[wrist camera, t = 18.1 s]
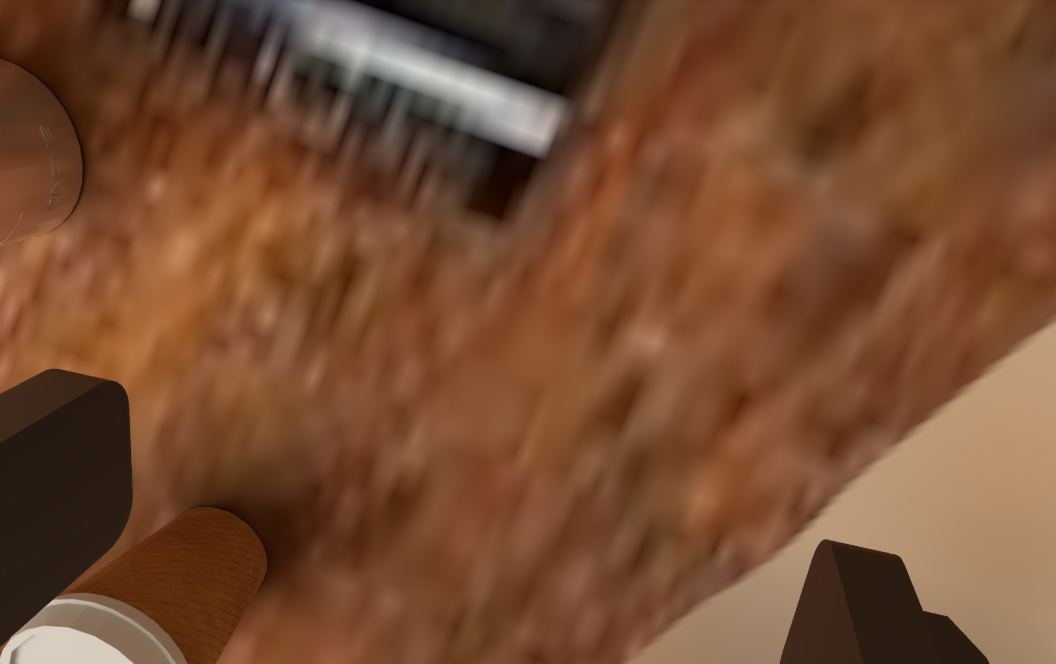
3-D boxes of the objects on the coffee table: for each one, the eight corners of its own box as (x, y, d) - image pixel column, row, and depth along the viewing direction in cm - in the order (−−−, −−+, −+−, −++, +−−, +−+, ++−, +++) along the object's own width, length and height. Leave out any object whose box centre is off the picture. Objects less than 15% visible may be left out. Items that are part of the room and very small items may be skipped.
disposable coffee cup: (214, 453, 47) (65, 583, 36) (325, 574, 48) (214, 735, 37) (116, 530, 50) (-48, 671, 39) (222, 641, 52) (93, 807, 41)
